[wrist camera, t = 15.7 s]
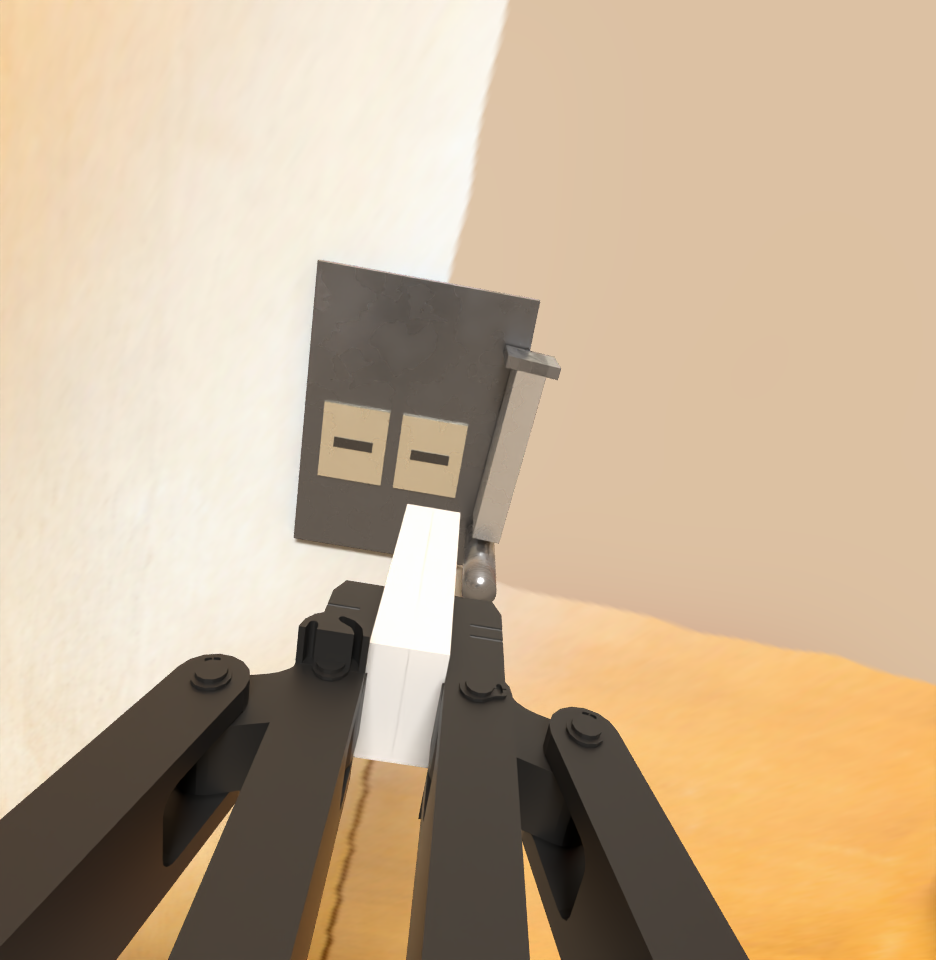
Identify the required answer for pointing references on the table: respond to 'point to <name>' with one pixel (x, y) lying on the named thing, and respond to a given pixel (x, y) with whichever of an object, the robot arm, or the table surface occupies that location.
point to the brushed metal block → (510, 438)
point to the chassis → (403, 407)
